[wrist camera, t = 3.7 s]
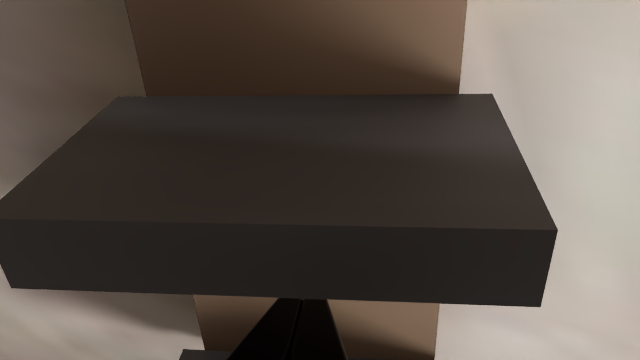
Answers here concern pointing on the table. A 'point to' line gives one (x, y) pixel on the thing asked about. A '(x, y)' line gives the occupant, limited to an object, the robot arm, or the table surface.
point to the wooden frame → (291, 176)
